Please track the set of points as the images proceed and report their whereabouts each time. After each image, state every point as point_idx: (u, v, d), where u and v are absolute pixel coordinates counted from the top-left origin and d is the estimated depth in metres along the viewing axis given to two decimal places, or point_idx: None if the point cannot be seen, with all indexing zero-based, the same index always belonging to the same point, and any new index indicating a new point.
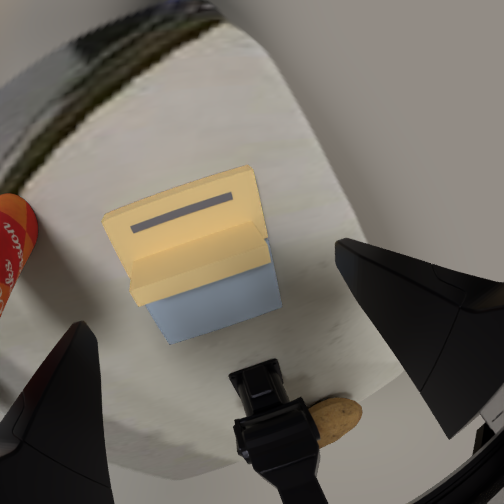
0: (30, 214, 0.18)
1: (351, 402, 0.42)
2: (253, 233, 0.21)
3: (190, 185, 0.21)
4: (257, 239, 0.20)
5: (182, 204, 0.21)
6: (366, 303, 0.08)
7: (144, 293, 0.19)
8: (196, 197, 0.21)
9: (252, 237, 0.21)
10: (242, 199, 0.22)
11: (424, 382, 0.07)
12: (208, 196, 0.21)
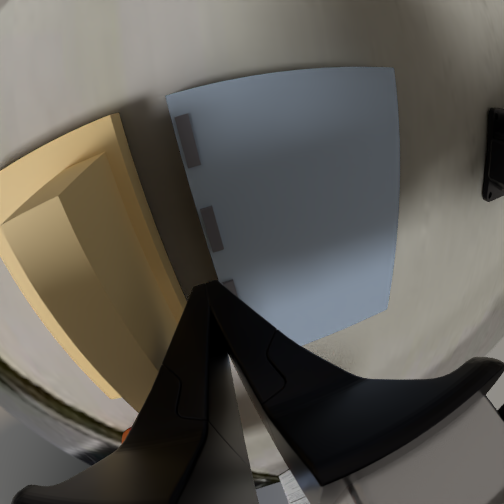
0: None
1: None
2: None
3: None
4: None
5: None
6: (229, 354, 0.08)
7: None
8: None
9: None
10: (20, 202, 0.07)
11: (280, 452, 0.06)
12: None
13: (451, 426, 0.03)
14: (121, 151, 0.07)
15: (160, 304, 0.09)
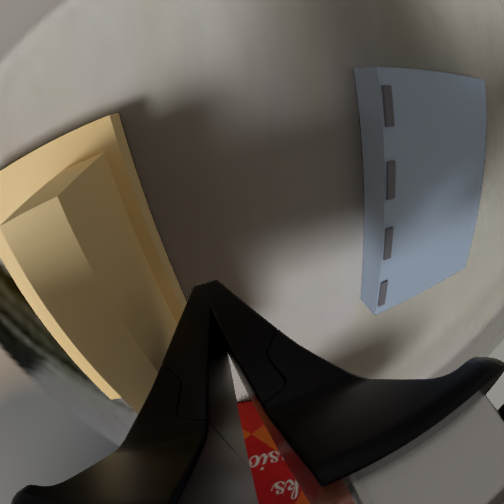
0: None
1: None
2: None
3: None
4: None
5: None
6: (229, 354, 0.08)
7: None
8: None
9: None
10: (20, 202, 0.07)
11: (281, 452, 0.06)
12: None
13: (451, 426, 0.03)
14: (121, 151, 0.07)
15: (160, 304, 0.09)
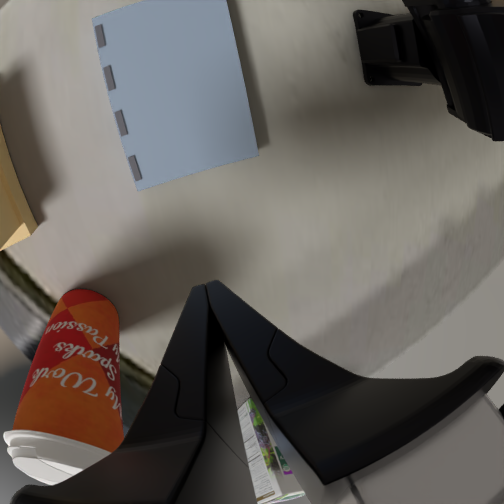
0: (67, 296, 0.20)
1: None
2: None
3: None
4: None
5: None
6: (230, 354, 0.08)
7: None
8: None
9: None
10: None
11: (281, 452, 0.06)
12: None
13: (453, 425, 0.03)
14: None
15: None
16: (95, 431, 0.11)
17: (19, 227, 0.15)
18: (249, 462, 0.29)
